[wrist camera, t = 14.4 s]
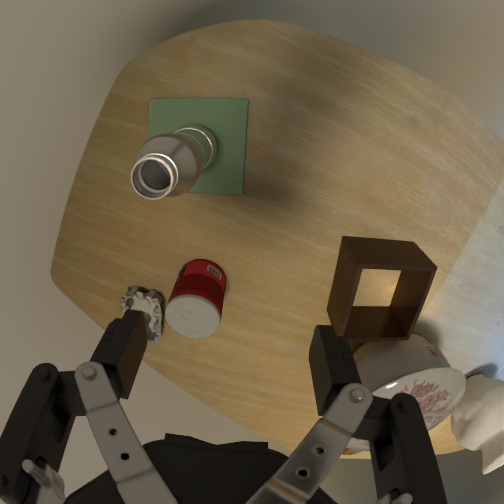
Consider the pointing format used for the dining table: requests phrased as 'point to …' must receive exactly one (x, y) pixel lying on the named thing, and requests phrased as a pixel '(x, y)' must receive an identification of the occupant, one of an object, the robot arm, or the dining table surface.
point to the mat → (222, 128)
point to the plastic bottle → (173, 162)
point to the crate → (405, 297)
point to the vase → (481, 420)
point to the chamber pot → (410, 377)
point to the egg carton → (145, 310)
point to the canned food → (197, 300)
